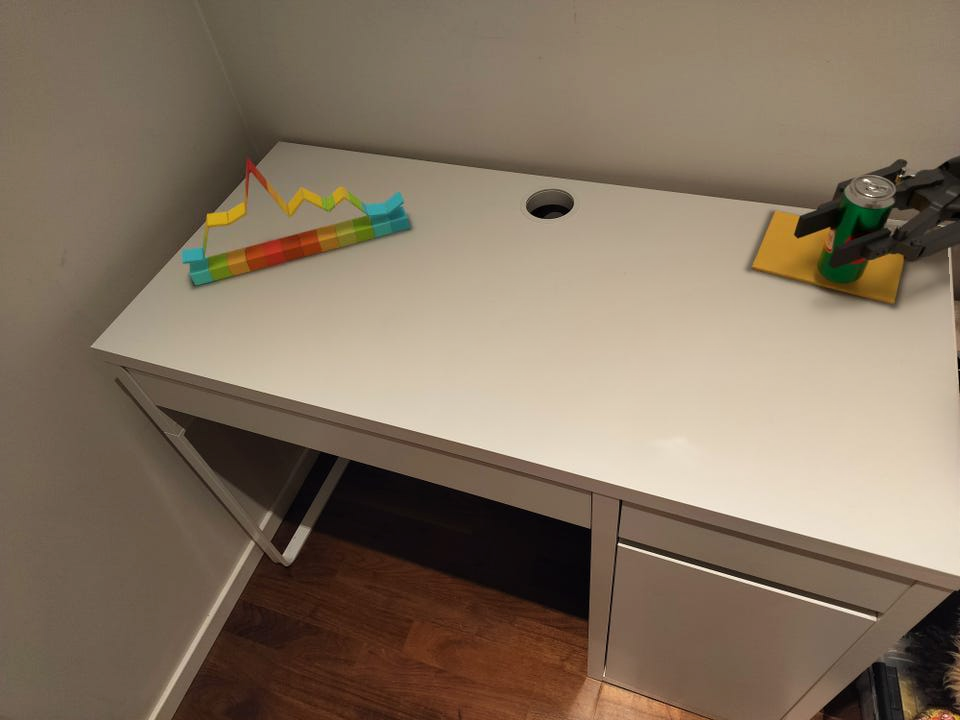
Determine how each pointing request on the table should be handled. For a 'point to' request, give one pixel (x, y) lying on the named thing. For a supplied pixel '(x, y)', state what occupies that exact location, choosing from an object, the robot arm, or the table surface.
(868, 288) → the orange flat board
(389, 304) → the table surface
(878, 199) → the soda can
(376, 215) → the chart
